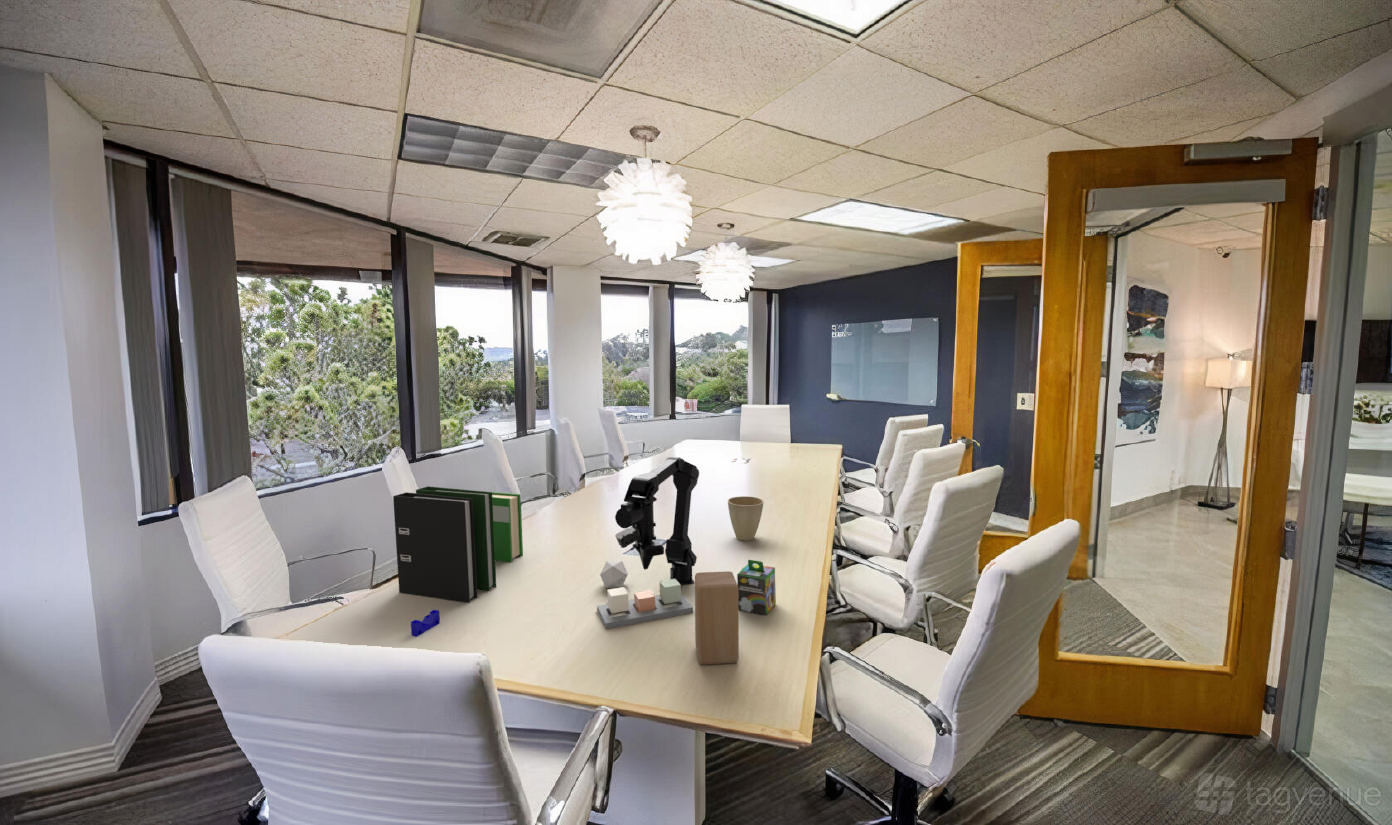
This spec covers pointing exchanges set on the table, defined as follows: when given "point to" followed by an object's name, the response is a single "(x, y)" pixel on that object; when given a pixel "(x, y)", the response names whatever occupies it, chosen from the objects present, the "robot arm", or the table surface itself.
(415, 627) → the cable holder
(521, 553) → the hardback book
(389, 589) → the table surface
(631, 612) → the grey slotted board
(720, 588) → the block
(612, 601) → the plunger cream
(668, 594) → the plunger sage
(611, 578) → the die
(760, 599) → the chalk box
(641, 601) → the salmon pink cube
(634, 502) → the robot arm
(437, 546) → the ring binders
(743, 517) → the plant pot
